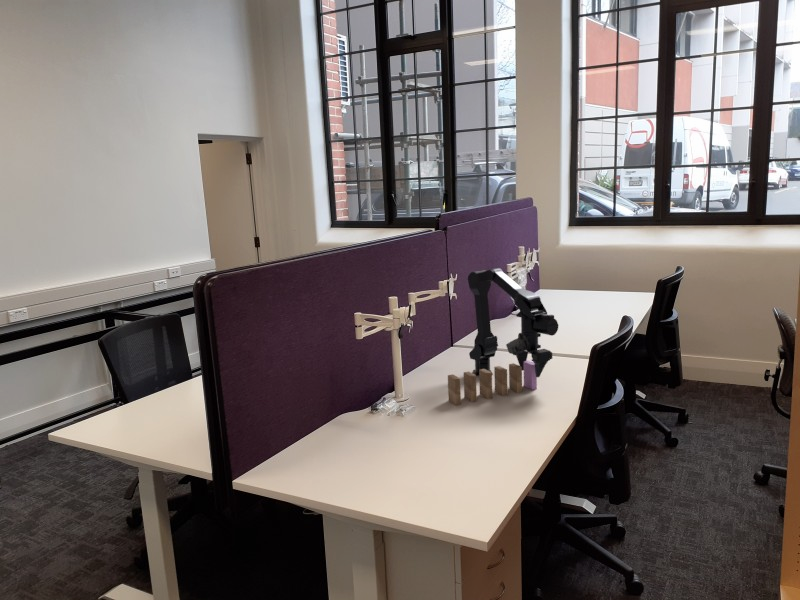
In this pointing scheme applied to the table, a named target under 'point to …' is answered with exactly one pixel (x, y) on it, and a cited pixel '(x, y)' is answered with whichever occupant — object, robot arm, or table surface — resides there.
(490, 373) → the walnut domino
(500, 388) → the walnut domino
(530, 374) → the plum domino
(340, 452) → the table surface
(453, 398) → the walnut domino
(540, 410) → the table surface
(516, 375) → the walnut domino
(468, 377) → the walnut domino
